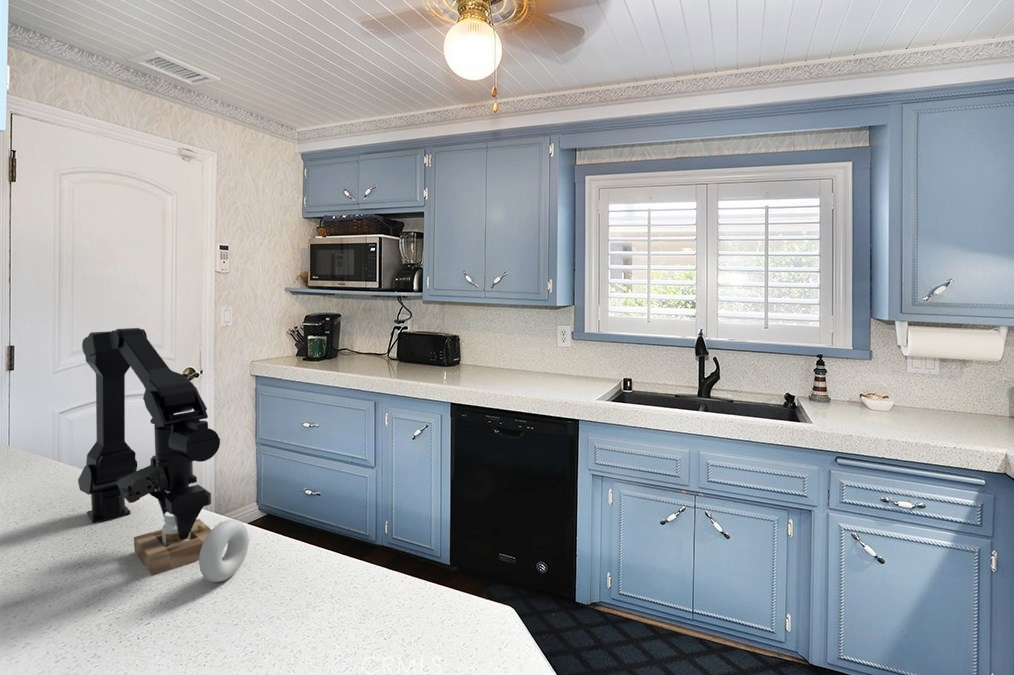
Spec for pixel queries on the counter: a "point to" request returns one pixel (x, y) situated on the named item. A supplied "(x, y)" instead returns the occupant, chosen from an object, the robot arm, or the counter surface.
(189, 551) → the socket block
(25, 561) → the counter surface
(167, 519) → the pill bottle
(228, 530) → the donut
